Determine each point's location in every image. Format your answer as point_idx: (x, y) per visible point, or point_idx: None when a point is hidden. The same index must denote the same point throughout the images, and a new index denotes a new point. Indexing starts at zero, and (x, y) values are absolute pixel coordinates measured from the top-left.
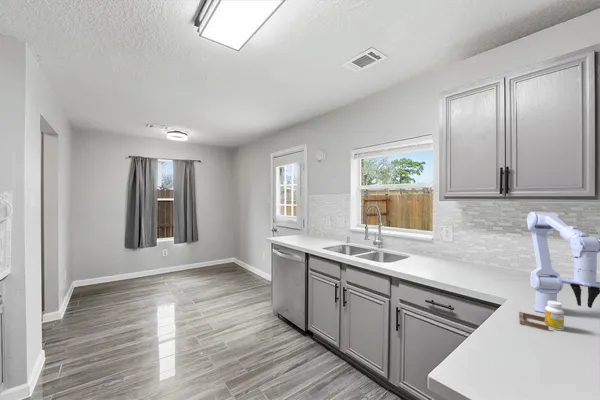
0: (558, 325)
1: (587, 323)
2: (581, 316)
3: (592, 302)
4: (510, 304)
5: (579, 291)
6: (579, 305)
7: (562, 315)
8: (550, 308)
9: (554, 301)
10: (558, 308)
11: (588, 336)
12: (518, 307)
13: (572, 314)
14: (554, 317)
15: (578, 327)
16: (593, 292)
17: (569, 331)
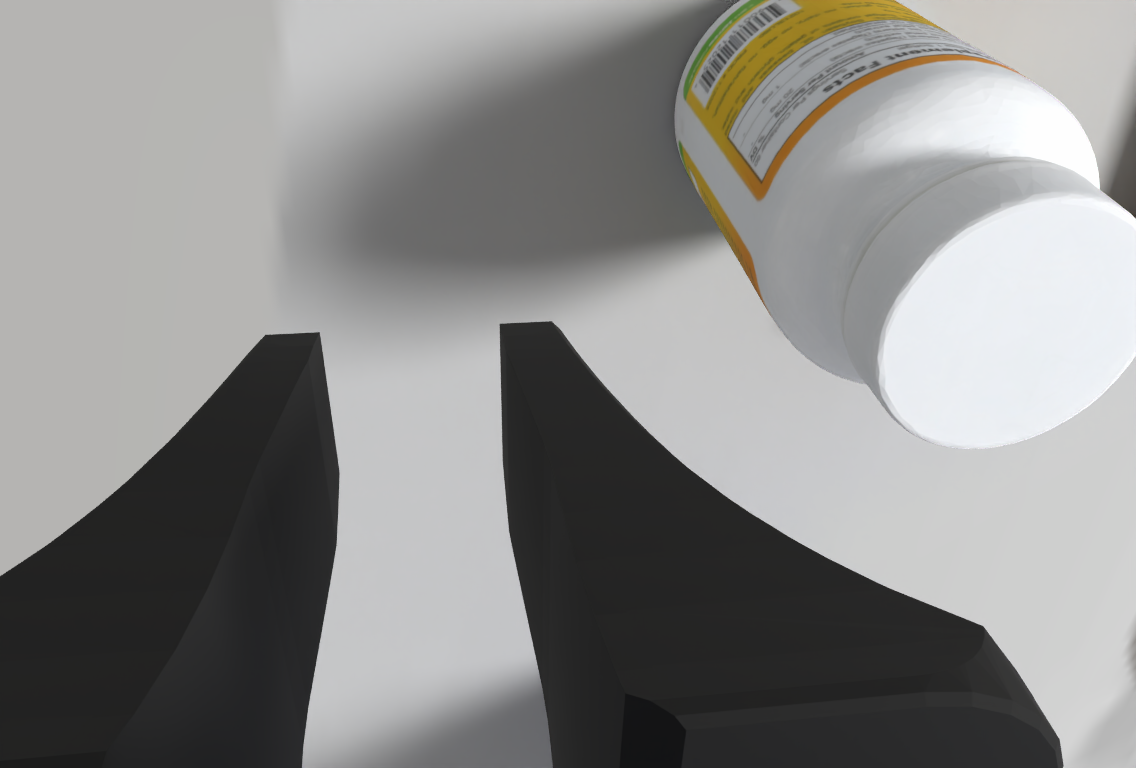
0: (794, 2)
1: (337, 589)
2: (381, 761)
3: (202, 421)
4: (1101, 628)
5: (665, 601)
6: (533, 326)
7: (795, 117)
8: (1058, 155)
9: (981, 425)
10: (921, 191)
11: (359, 43)
12: (1037, 591)
13: (464, 758)
14: (919, 35)
15: (453, 362)
16: (24, 698)
17: (600, 75)
